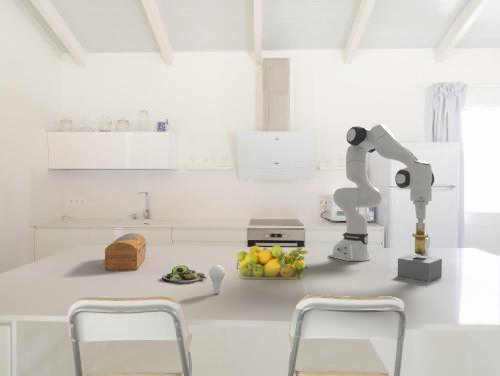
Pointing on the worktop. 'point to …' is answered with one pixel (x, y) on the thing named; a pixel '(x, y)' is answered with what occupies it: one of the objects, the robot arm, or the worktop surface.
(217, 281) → the lightbulb
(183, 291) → the worktop surface
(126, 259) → the wooden box
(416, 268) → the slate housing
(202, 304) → the worktop surface
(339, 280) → the worktop surface
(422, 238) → the brass knob plunger
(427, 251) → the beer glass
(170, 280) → the salad plate
